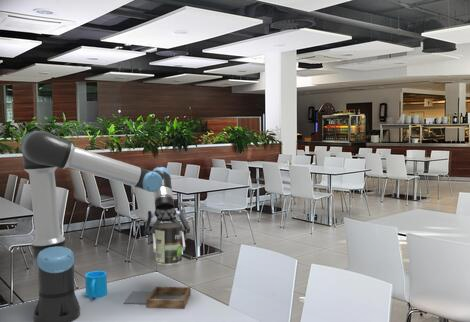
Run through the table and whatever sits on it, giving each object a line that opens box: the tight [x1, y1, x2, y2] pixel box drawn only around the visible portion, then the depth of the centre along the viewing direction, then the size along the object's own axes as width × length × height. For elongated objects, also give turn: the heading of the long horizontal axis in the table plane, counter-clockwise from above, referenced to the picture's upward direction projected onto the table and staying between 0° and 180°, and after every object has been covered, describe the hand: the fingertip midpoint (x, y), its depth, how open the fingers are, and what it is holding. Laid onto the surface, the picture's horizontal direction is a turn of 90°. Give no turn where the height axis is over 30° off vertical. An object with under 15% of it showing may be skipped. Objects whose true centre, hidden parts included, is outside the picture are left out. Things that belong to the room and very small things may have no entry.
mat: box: [123, 290, 153, 305], centre depth 177 cm, size 9×12×1 cm
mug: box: [84, 270, 108, 299], centre depth 179 cm, size 12×8×8 cm
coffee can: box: [154, 221, 183, 266], centre depth 173 cm, size 10×10×14 cm
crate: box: [145, 286, 191, 310], centre depth 174 cm, size 14×14×3 cm
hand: (169, 249), depth 170 cm, fingers closed on coffee can, 10 cm apart
